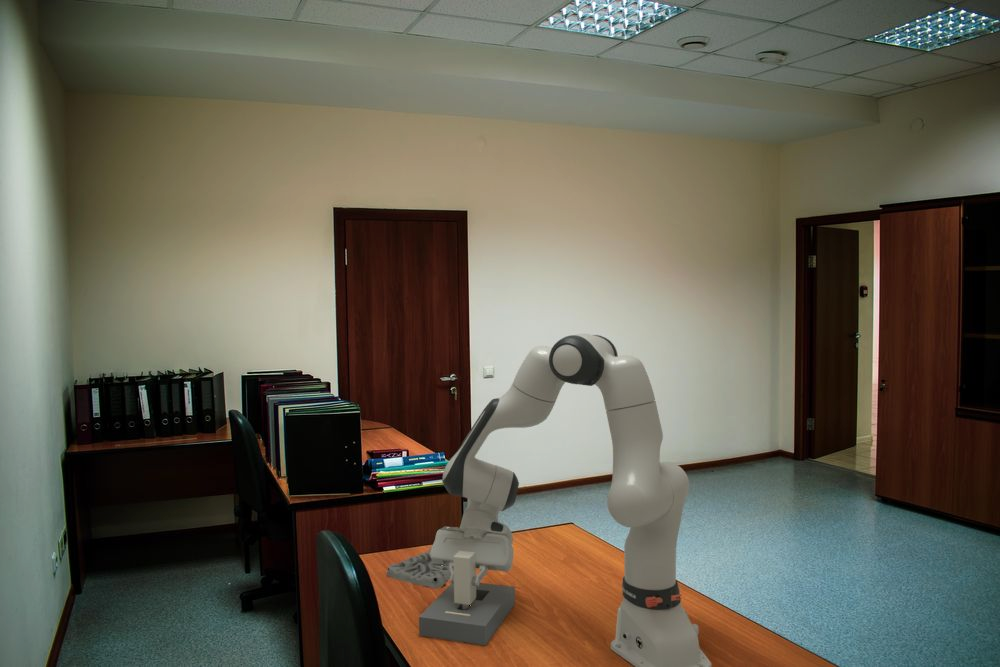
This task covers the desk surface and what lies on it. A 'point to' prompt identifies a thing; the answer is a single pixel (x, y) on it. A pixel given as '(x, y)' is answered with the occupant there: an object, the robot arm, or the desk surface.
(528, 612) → the desk surface
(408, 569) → the wall plaque
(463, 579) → the post
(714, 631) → the desk surface
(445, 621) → the keyhole plate
